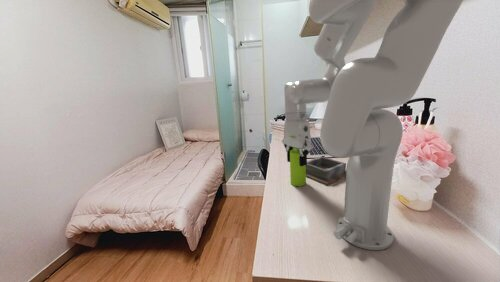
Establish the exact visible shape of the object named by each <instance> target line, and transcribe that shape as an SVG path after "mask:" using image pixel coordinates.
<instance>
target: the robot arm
mask: <svg viewBox="0 0 500 282" xmlns="http://www.w3.org/2000/svg"><path fill="white" fill-rule="evenodd" d="M399 1H400V2H403V3H404V6H403V7H402V8H401V9H400V10H399V11H398V12H397V13H396V15H395V16H394V17H393V18H392V20H391V22H390V23H389V25H388V26H387V28H386V29H385V32H384V34H383V38H382V41H381V44H380V46H379V49H378V50H377V52H376V55H375V56H374V57H361V58H357V59H354V60H352V61H350V62H348V63H346V62H345V58H346V56H347V53H348V52H349V50H350V49H351V47H352V45H353V44H354V42H355V41H356V39H357V37H358V35H360V33H361V31H362V29H363V28H364V26H365V24H366V22H367V21H368V19H369V17H370V16H371V14H372V12H373V11H374V9H375V7H376V5H377V2H378V0H310V1H309V4H308V5H309V6H308V12H309V18H310V19H311V20H312V21H313V22H314V23H315V24H321V25H323V26H322V27H321V30H320V32H319V35H318V37H317V39H316V41H315V43H314V46H313V47H314V48H313V49H314V53H315V54H316V56H318V58H320V59H321V60H323V61H324V62H326V63H328V64H329V67H328V69H327V71H326V73H325V74H324V76H323V77H322V78H315V79H314V78H313V79H301V80H297V81H292V82H290V81H289V82H287V83H286V84H284V88H283V89H284V110H285V111H284V113H285V114H284V116H285V120H284V124H283V125H284V126H283V139H282V140H281V143H282V144H283V146H284V147H283V148H285V152H286V157H287V158H286V160H287V162H288V163H290V151H291V150H293V147H295V148H299V151H300V154H301V156H300V157H299V159H300V166H304V165H307V161H308V159H307V158H308V155H309V154H310V152H312V150H314V146H313V145H312V137H311V128H310V127H311V126H310V123H309V120H307V119H308V117H309V116H308V115H309V114H307V105H308V104H315V103H324V102H327V103H326V106H325V107H326V108H325V110H324V111H325V112H324V115H323V117H322V118H323V119H322V122H321V126H320V127H321V128H320V134H319V135H320V137H319V138H320V143H321V147H322V148H323V150H324V151H325V153H326V154H327V155H329V156H330V157H332V158H337V159H346V158H348V160H347V163H346V177H345V186H344V187H345V191H344V211H343V212H344V213H343V216H341V217H340V218H338V220H337V223H336V230H334V231H333V236H334V237H335V239H337V240H341V239H342V238H343V239H344V240H345V241H346V242H348V243H350V244H352V245H353V246H355V247H357V248H361V249H364V250H369V251H381V250H385V249H388V248H390V247H391V246H392V244H393V243H394V233H393V231H392V230H391V228H390V227H389V226H388V218H389V211H390V210H389V209H390V201H391V192H392V191H391V190H392V183H393V182H392V181H393V175H394V168H395V161H396V158H397V154H398V151H399V148H400V145H401V143H402V139H403V132H404V131H403V124H402V121H401V120H400V118H399V116H397V114H395V113H394V112H392V111H390V110H388V108H393V107H398V106H402V105H405V104H406V103H407V102H409V101H410V100H412V98H413V97H414V96H415V95H416V92H417V91H418V89H419V87H420V86H421V83H422V81H423V79H424V77H425V75H426V74H427V71H428V70H429V67H430V65H431V64H432V61H433V59H434V57H435V56H436V53H437V51H438V49H439V47H440V44H441V42H442V39H443V38H444V36H445V34H446V32H447V30H448V28H449V26H450V25H451V23H452V21H453V19H454V18H455V16H456V14H457V12H458V10H459V9H460V7H461V5H462V3H463V2H464V0H399ZM290 136H294V137H295V138H289V137H290ZM303 150H304V152H303Z"/></svg>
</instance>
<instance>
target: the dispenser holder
mask: <svg viewBox="0 0 500 282" xmlns="http://www.w3.org/2000/svg"><path fill="white" fill-rule="evenodd" d="M346 168H347V163H346V162H342V161H338V160H335V159H332V158H328V157H325V156H322V155H321V156H319V157H316V158H313V159H310V160H307V165H306V178H307V179H309V180H311V181H315V182H318V183H320V184H322V185H324V186H330V185H331V184H334V183H336V182H338V181H340V180H342V179H346Z"/></svg>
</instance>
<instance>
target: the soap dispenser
mask: <svg viewBox="0 0 500 282" xmlns="http://www.w3.org/2000/svg"><path fill="white" fill-rule="evenodd" d="M289 138H295V137H294V136H290V137H289ZM303 152H304V149H303ZM300 156H301V154H300V151H299V148H295V147H293V150H291V151H290V162H289V171H290V172H289V173H290V175H289V176H290V185H292V186H294V187H301V186H302V187H303V186H305V185H306V184H307V179H306V178H307V177H306V165H304V166H300V159H299V157H300Z"/></svg>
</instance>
